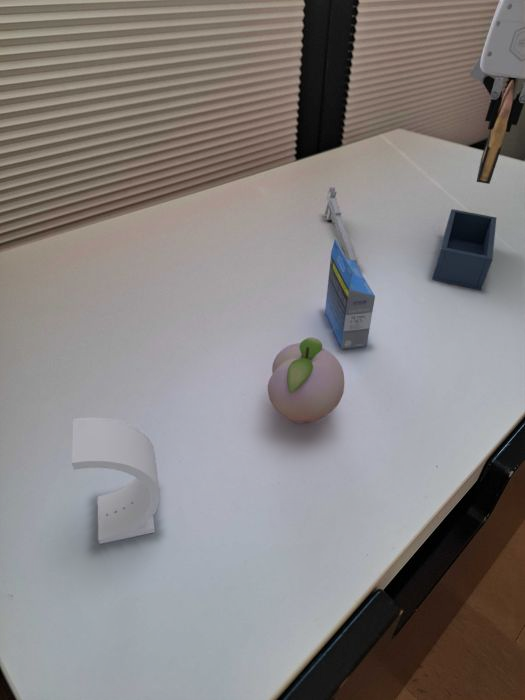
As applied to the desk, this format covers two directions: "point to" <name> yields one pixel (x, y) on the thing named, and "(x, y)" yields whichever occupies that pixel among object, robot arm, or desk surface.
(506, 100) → the ammunition clip
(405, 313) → the desk surface
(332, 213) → the caliper
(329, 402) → the decorative fruit
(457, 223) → the desk tidy
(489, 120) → the robot arm
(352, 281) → the label tape box
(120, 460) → the headphone stand
